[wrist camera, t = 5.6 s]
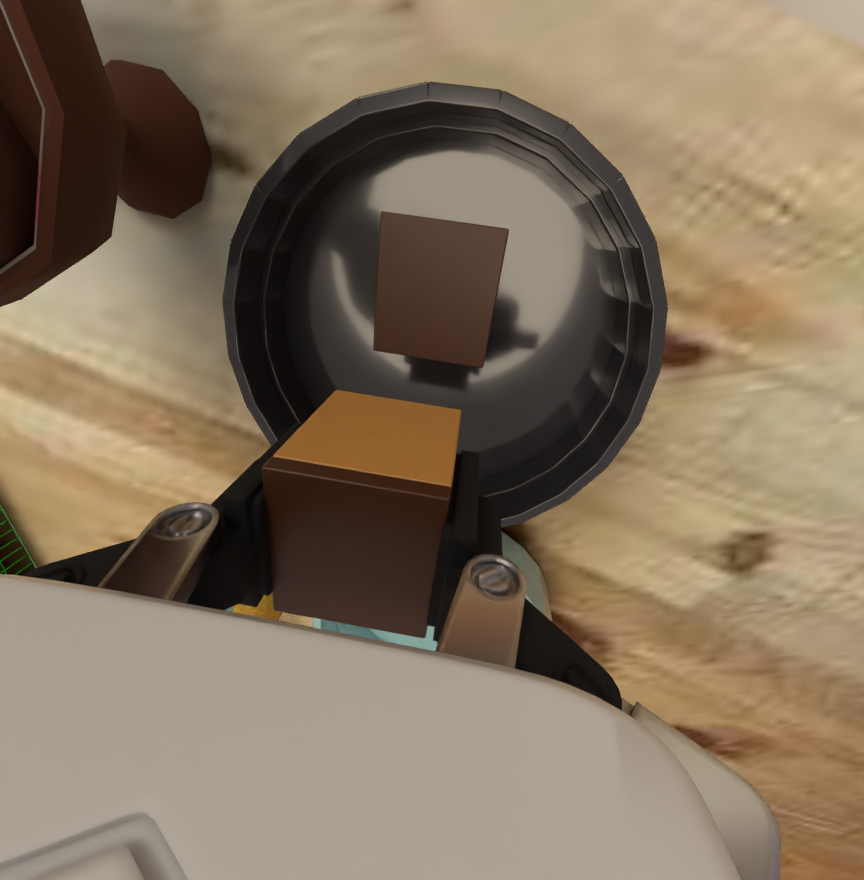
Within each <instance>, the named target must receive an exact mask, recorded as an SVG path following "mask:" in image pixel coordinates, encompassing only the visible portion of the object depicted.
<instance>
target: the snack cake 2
mask: <svg viewBox="0 0 864 880" xmlns="http://www.w3.org/2000/svg"><path fill="white" fill-rule="evenodd" d="M508 234H509V229H507V228H500V227H493V226H485V225H478V224H471V223H464V222H456V221H449V220H442V219H435V218H428V217H420V216H413V215H406V214H399V213H391V212H384V211H382V212H381V219H380V237H379V254H378V271H377V289H376V306H375V324H374V341H373V350H374V351H379V352H385V353H391V354H398V355H404V356H410V357H416V358H422V359H429V360H435V361H441V362H447V363H453V364H460V365H466V366H472V367H478V368H483V367H484V361H485V356H486V351H487V346H488V340H489V335H490V330H491V324H492V319H493V314H494V308H495V303H496V298H497V292H498V287H499V282H500V277H501V271H502V266H503V261H504V255H505V250H506V245H507V239H508Z"/></svg>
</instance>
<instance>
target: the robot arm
mask: <svg viewBox="0 0 864 880" xmlns="http://www.w3.org/2000/svg"><path fill="white" fill-rule="evenodd" d="M302 425H303V424H300V423H295V424H294V425H293V426H292V427H291V428H290V429H289V430H288V431H287V432H286V433H285V434H284V435H283V436H282V437H281V438H280V439H279V440H278V441H277V442H276V443H275V444H274V445H273V446H271V447H270V448H269V449H268V450H267V451H266V452H265V453H264V454H263V455H262V456H261V457H260V458H259V459H258V460H256V461H255V462H254V463H253V464H252V465H251V466H250V467H249V468H248V469H247V470H246V471H245V472H244V473H243V474H242V475H241V476H240V477H239V478H238V479H237V480H236V481H235V482H234V483H233V484H232V485H230V486H229V487H228V488H227V489H226V490H225V491H224V492H223V493H222V494H221V495H220V496H219V497H218V498H217V499H216V500H215V501H214V502H213V503H212V504H211V505H209V504H207V503H200V502H192V503H184V504H179V505H176V506H173V507H170V508H168V509H166V510H164V511H162V512H161V513H159V514H158V515H157V516H156V517H154V518H153V519H152V521H151V522H150V523H149V524H148V525H147V527H146V528H145V529H144V530H143V531H142V533H141V534H140V535H139V536H138V537H137V539H134V540H130V541H127V542H123V543H120V544H116V545H113V546H109V547H106V548H102V549H99V550H95V551H92V552H88V553H85V554H81V555H78V556H74V557H71V558H67V559H64V560H60V561H57V562H53V563H50V564H47V565H44V566H41V567H39V568H36V569H34V570H32V571H30V572H28V573H26V574H24V575H22V576H19V575H8V574H0V880H780V850H781V839H780V833H779V828H778V823H777V821H776V819H775V817H774V815H773V813H772V811H771V809H770V807H769V805H768V804H767V803H766V801H765V800H764V799H763V797H762V796H761V795H760V794H759V792H758V791H757V790H756V788H754V787H753V786H752V785H751V784H750V783H749V782H748V781H746V780H745V779H744V778H743V777H742V776H741V775H740V774H738V773H737V772H735V771H734V770H732V769H731V768H730V767H728V766H727V765H725V764H724V763H723V762H721V761H720V760H718V759H717V758H716V757H714V756H713V755H711V754H710V753H709V752H707V751H706V750H704V749H703V748H702V747H700V746H699V745H697V744H696V743H695V742H693V741H692V740H690V739H689V738H687V737H686V736H685V735H683V734H682V733H680V732H679V731H678V730H676V729H675V728H673V727H672V726H671V725H669V724H668V723H666V722H665V721H664V720H662V719H661V718H659V717H658V716H657V715H655V714H654V713H652V712H651V711H649V710H648V709H647V708H645V707H644V706H642V705H641V704H640V703H638V702H636V704H635V706H633V705H631V704H630V703H628V702H627V701H626V700H624V699H623V698H621V695H620V692H619V689H618V687H617V685H616V684H615V682H614V680H613V679H612V677H611V676H610V675H609V674H608V673H607V672H606V671H605V669H604V668H603V667H602V666H600V665H599V664H598V663H597V662H596V661H595V660H594V659H593V658H592V657H590V656H589V655H588V654H587V653H586V652H585V651H584V650H583V649H582V648H580V647H579V646H578V645H577V644H576V643H575V642H574V641H573V640H572V639H570V638H569V637H568V636H567V635H566V634H565V633H564V632H563V631H562V630H561V629H559V628H558V627H557V626H556V625H555V624H554V623H553V622H552V621H551V620H549V619H548V618H547V617H546V616H545V615H544V614H543V613H542V612H541V611H539V610H538V609H537V608H536V607H535V606H534V605H533V604H532V603H531V602H529V601H528V600H527V599H526V598H525V595H526V588H527V585H526V578H525V576H524V574H523V572H522V571H521V569H520V568H519V567H518V566H517V565H516V564H515V563H513V562H512V561H510V560H509V559H507V558H504V557H503V552H502V533H501V514H500V500H499V499H495V498H490V497H484V496H479V459H480V453H476V452H469V451H463V450H462V452H461V455H459V454H456V459H455V467H454V474H453V482H452V489H451V497H450V503H449V509H448V515H447V520H446V525H445V526H444V528H443V534H442V540H441V545H440V551H439V557H438V563H437V568H436V574H435V580H434V586H433V591H432V597H431V603H430V608H429V614H428V620H427V626H432V627H435V628H434V635H433V641H436V642H437V643H438V644H437V647H436V650H435V651H431V650H426V649H421V648H416V647H411V646H406V645H401V644H396V643H390V642H385V641H380V640H375V639H370V638H365V637H360V636H355V635H350V634H345V633H339V632H334V631H329V630H324V629H319V628H313V627H308V626H303V625H298V624H292V623H287V622H282V621H277V620H271V619H266V618H261V617H256V616H250V615H245V614H240V613H234V612H233V606H235V605H237V604H241V605H247V606H252V607H257V606H258V604H259V603H260V601H261V599H262V598H263V596H264V595H266V596H269V595H270V594H271V593H272V579H271V567H270V555H269V543H268V531H267V520H266V508H265V496H264V490H263V479H262V466H263V465H264V464H265V463H266V462H267V461H268V460H269V459H270V458H271V457H273V455H274V454H275V453H276V452H277V451H278V450H279V449H280V448H281V447H282V446H283V445H284V443H285V442H286V441H287V440H288V439H289V438H290V437H291V436H292V435H293V434H294V433H295V432H296V431H297V430H298V429H299V428H300V427H301V426H302Z"/></svg>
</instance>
